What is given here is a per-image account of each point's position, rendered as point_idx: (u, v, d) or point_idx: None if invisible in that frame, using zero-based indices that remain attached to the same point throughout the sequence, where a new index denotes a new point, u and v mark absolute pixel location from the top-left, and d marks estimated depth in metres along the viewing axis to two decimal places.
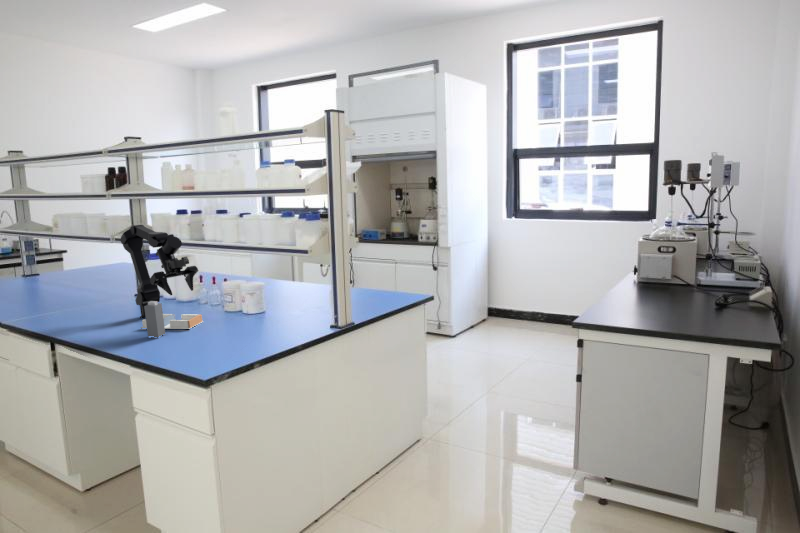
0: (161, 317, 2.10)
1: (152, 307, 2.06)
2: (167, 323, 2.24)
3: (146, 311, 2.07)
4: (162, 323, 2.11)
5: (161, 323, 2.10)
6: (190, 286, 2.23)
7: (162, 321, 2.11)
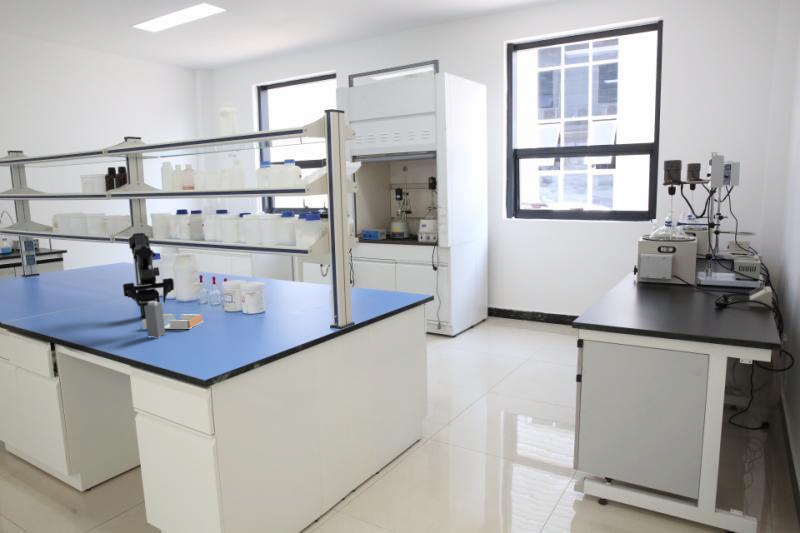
0: (161, 317, 2.10)
1: (152, 307, 2.06)
2: (167, 323, 2.24)
3: (146, 311, 2.07)
4: (162, 323, 2.11)
5: (161, 323, 2.10)
6: (163, 298, 2.17)
7: (162, 321, 2.11)
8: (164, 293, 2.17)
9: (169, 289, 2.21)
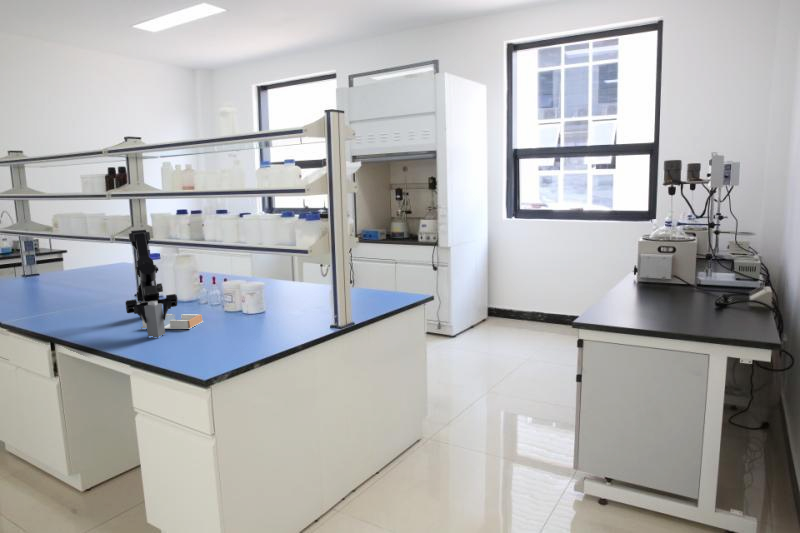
0: (161, 317, 2.10)
1: (152, 307, 2.06)
2: (167, 323, 2.24)
3: (146, 311, 2.07)
4: (162, 323, 2.11)
5: (161, 323, 2.10)
6: (163, 315, 2.11)
7: (162, 321, 2.11)
8: (164, 310, 2.11)
9: (169, 306, 2.15)
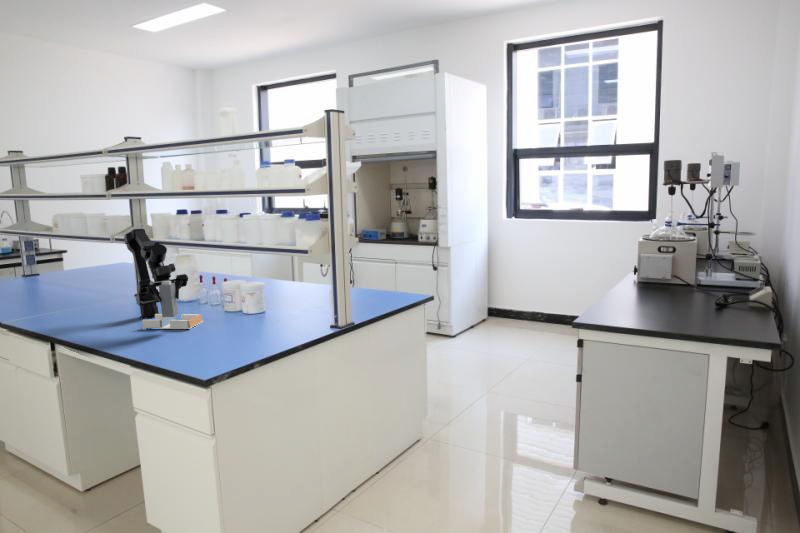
0: (174, 296, 2.15)
1: (168, 286, 2.11)
2: (167, 323, 2.24)
3: (161, 290, 2.11)
4: (175, 302, 2.16)
5: (175, 302, 2.15)
6: (176, 294, 2.16)
7: (175, 300, 2.16)
8: (177, 289, 2.16)
9: (180, 285, 2.20)
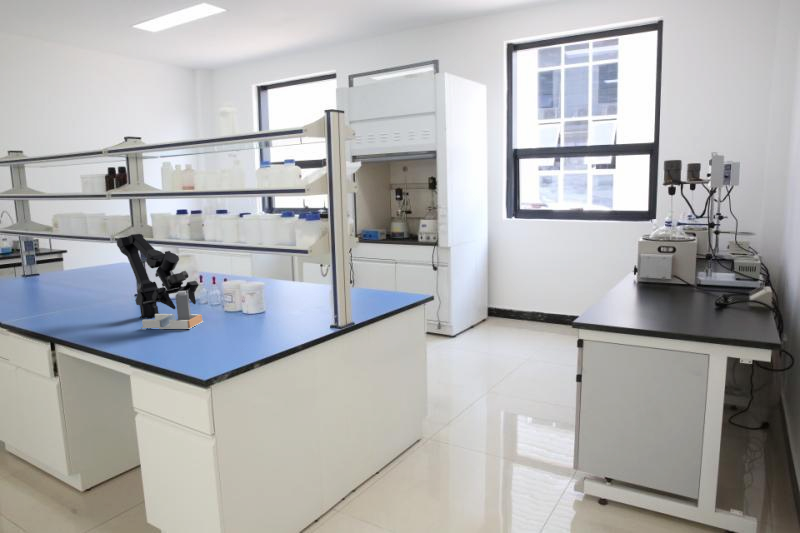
0: (189, 305, 2.24)
1: (184, 295, 2.19)
2: (167, 323, 2.24)
3: (177, 300, 2.19)
4: (190, 311, 2.24)
5: (189, 311, 2.24)
6: (192, 300, 2.25)
7: None
8: (193, 295, 2.26)
9: None
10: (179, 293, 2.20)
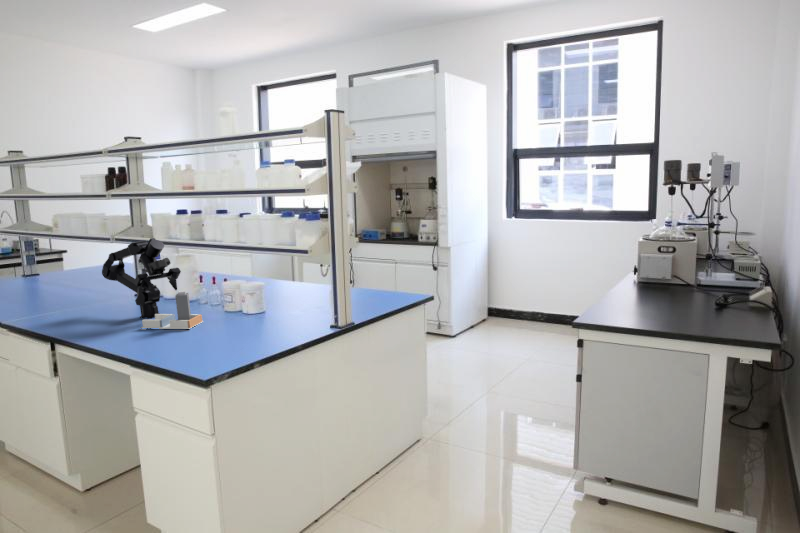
0: (189, 305, 2.24)
1: (184, 295, 2.19)
2: (167, 323, 2.24)
3: (177, 300, 2.19)
4: (190, 311, 2.24)
5: (189, 311, 2.24)
6: (174, 286, 2.33)
7: None
8: (175, 281, 2.33)
9: (175, 278, 2.37)
10: (179, 293, 2.20)
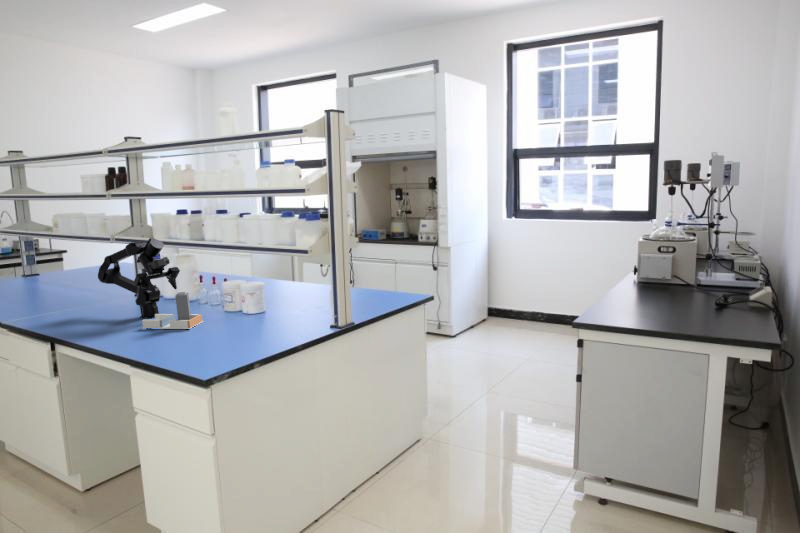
0: (189, 305, 2.24)
1: (184, 295, 2.19)
2: (167, 323, 2.24)
3: (177, 300, 2.19)
4: (190, 311, 2.24)
5: (189, 311, 2.24)
6: (173, 285, 2.34)
7: None
8: (174, 280, 2.34)
9: None
10: (179, 293, 2.20)
